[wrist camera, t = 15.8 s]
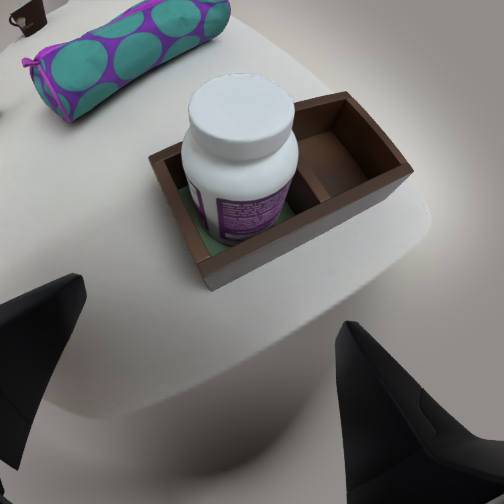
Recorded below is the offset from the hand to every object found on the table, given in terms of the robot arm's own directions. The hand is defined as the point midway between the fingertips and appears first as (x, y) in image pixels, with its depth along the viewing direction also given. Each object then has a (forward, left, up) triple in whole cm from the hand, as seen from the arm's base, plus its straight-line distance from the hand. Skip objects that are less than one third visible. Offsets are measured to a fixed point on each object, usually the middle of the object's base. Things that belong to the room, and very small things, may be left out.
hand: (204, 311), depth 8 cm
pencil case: (+27, +6, -9) cm, 29 cm away
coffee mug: (+69, +40, -9) cm, 80 cm away
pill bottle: (+7, -2, -8) cm, 11 cm away
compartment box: (+8, -6, -9) cm, 13 cm away
